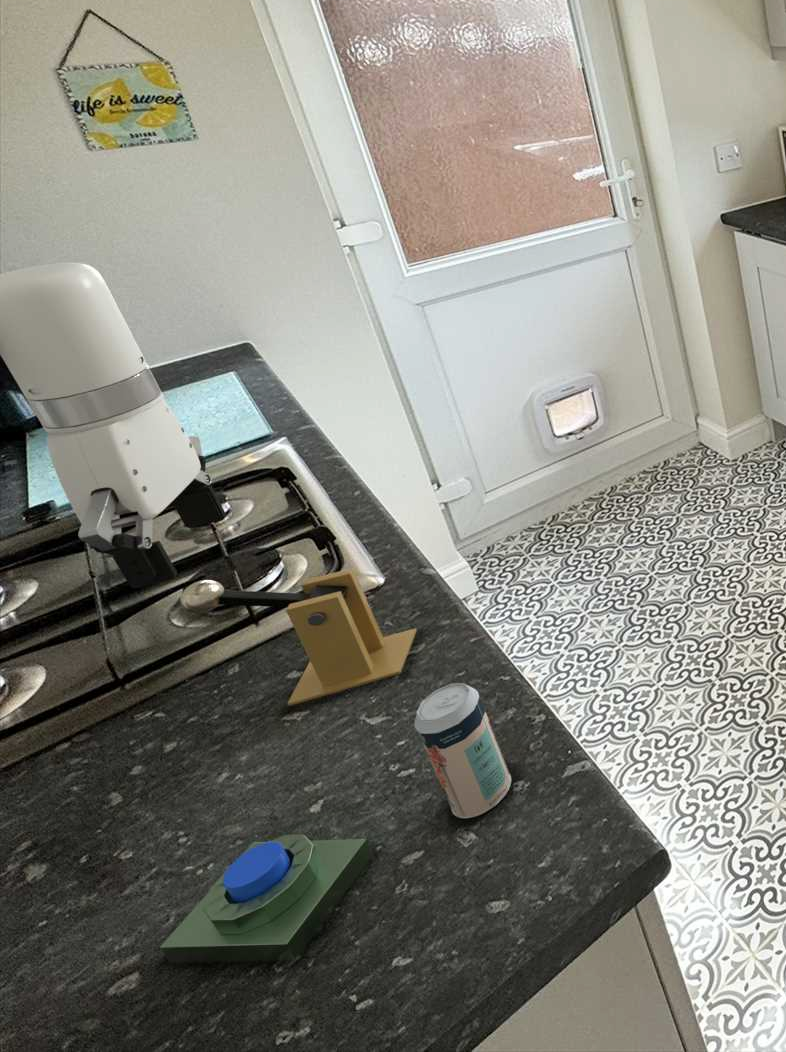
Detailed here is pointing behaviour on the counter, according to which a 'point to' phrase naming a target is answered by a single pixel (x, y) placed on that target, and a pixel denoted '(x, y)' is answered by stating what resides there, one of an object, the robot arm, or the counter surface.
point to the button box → (271, 907)
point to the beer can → (463, 749)
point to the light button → (256, 871)
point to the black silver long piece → (244, 596)
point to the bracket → (343, 639)
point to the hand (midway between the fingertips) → (182, 550)
